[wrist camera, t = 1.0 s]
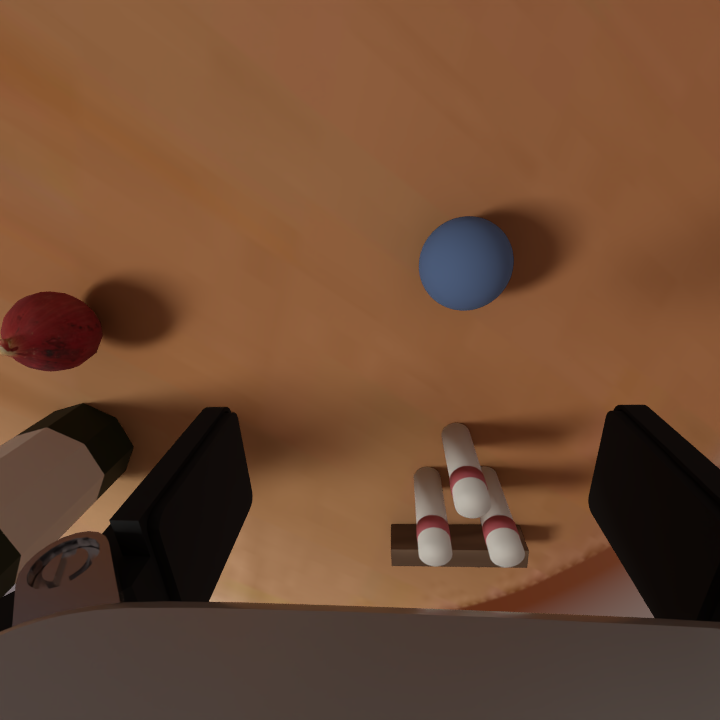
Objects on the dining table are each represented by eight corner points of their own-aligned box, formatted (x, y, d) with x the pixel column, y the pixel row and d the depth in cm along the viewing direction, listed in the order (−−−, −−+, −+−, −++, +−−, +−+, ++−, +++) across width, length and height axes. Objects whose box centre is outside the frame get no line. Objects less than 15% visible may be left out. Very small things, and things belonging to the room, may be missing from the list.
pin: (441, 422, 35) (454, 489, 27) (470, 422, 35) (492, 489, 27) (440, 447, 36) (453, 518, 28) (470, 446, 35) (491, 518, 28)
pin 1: (412, 466, 37) (417, 540, 29) (441, 466, 36) (453, 540, 29) (413, 488, 38) (418, 566, 30) (440, 488, 37) (452, 567, 30)
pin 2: (469, 465, 36) (489, 541, 28) (498, 465, 36) (527, 541, 28) (468, 488, 37) (488, 567, 29) (496, 488, 37) (524, 567, 29)
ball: (415, 217, 29) (420, 223, 23) (503, 211, 28) (529, 215, 23) (417, 300, 31) (422, 324, 25) (498, 296, 30) (521, 319, 25)
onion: (132, 306, 33) (56, 338, 26) (113, 362, 35) (38, 406, 28) (63, 269, 32) (-35, 292, 25) (48, 328, 34) (-47, 365, 27)
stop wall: (391, 524, 39) (390, 549, 37) (519, 524, 38) (528, 550, 35) (392, 540, 40) (391, 565, 37) (517, 541, 39) (527, 567, 36)
